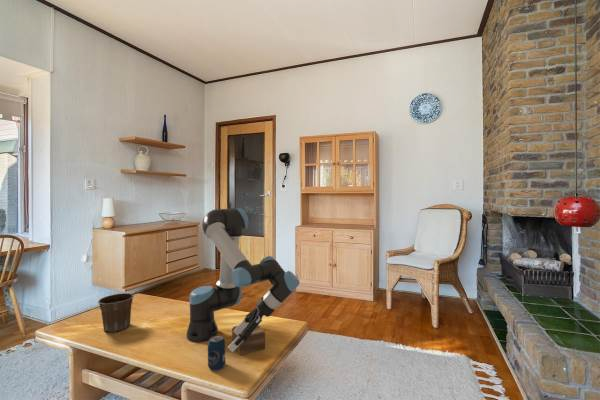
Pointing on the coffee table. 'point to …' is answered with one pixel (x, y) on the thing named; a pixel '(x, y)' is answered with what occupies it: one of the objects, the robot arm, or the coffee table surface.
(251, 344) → the block
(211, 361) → the soda can
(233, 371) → the coffee table surface
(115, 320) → the plant pot
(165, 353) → the coffee table surface
